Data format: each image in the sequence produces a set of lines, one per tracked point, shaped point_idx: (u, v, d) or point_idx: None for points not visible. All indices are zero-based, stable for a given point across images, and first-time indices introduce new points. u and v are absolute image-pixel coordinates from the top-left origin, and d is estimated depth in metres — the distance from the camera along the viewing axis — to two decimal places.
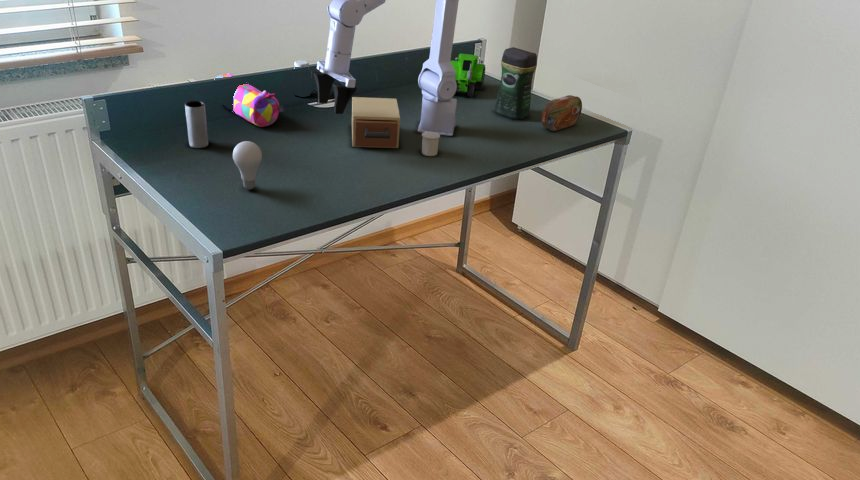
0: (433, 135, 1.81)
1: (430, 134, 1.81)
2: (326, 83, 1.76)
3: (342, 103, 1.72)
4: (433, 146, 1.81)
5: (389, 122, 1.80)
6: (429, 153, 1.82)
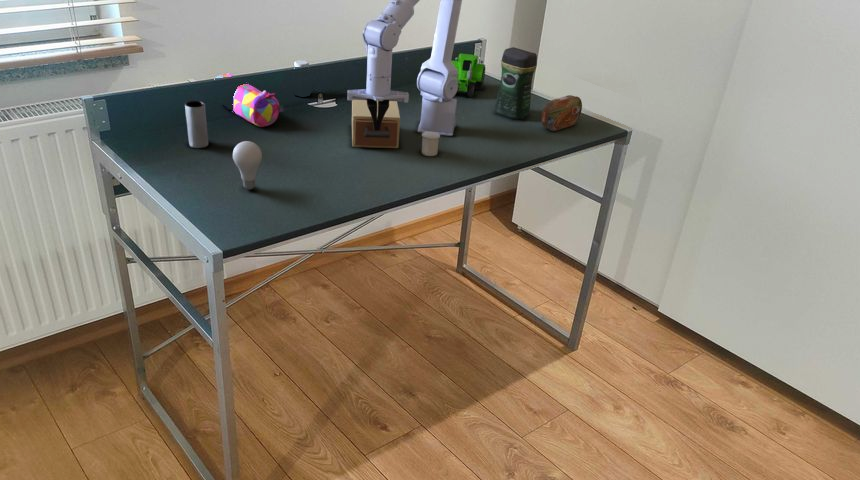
0: (433, 135, 1.81)
1: (430, 134, 1.81)
2: None
3: None
4: (433, 146, 1.81)
5: (389, 121, 1.80)
6: (429, 153, 1.82)
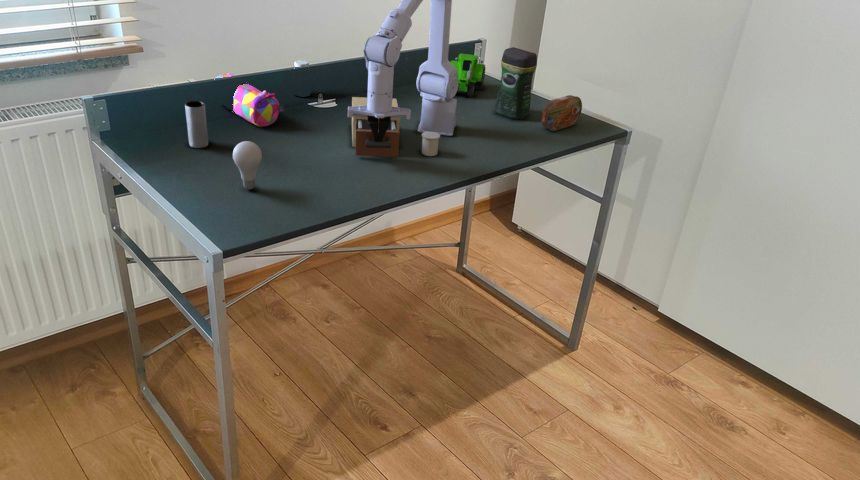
0: (433, 135, 1.81)
1: (430, 134, 1.81)
2: None
3: None
4: (433, 146, 1.81)
5: (390, 131, 1.75)
6: (429, 153, 1.82)
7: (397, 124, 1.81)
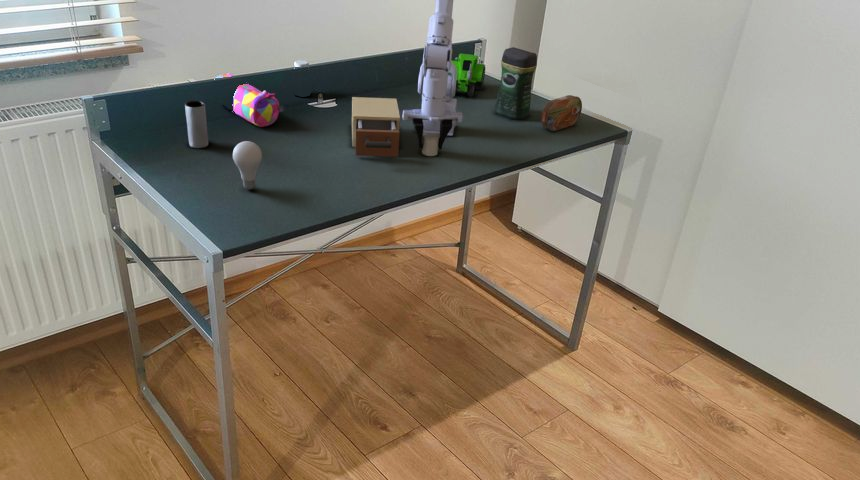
0: (433, 135, 1.81)
1: (430, 134, 1.81)
2: None
3: None
4: (434, 146, 1.81)
5: (390, 131, 1.75)
6: (429, 153, 1.82)
7: (397, 124, 1.81)
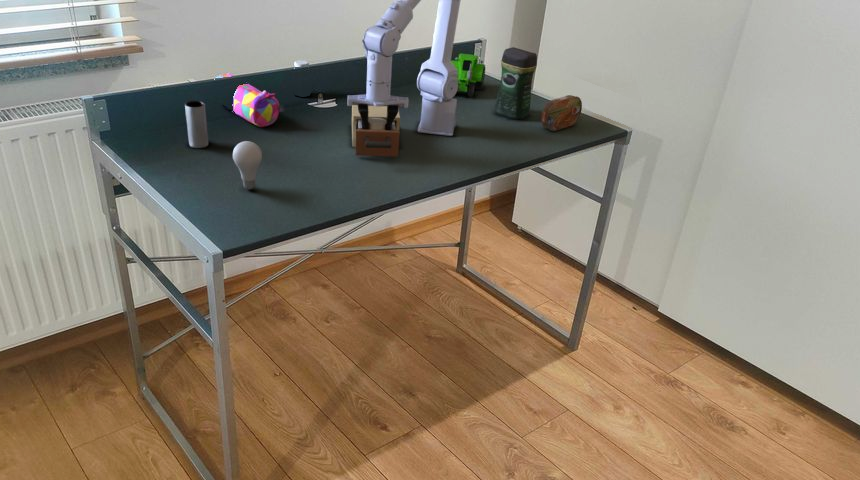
0: (379, 121, 1.77)
1: (377, 120, 1.78)
2: None
3: None
4: None
5: (390, 131, 1.75)
6: None
7: (397, 124, 1.81)
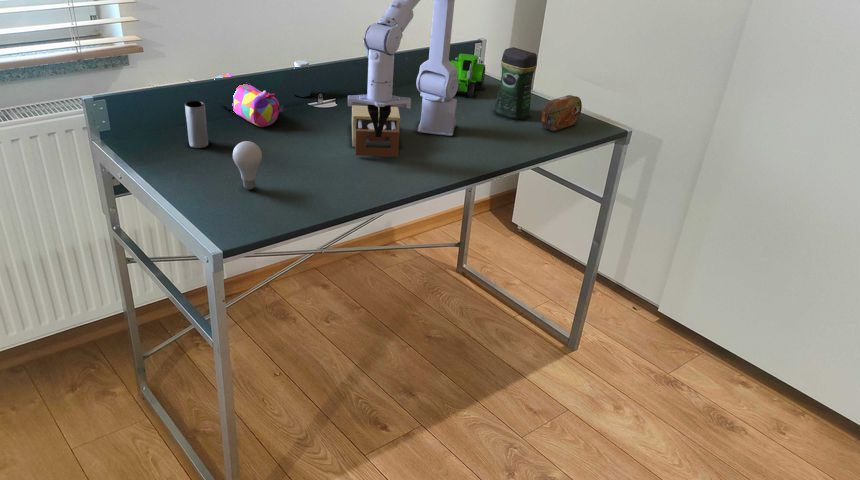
0: None
1: None
2: None
3: None
4: None
5: (390, 131, 1.75)
6: None
7: (397, 124, 1.81)
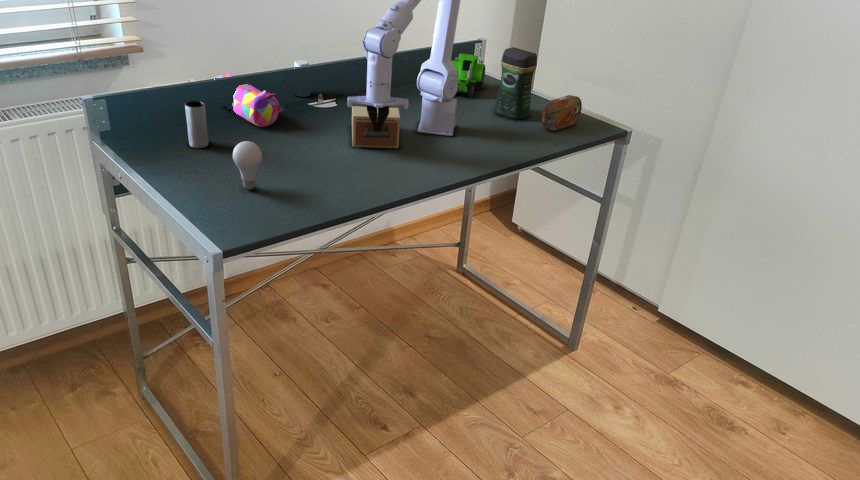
0: None
1: None
2: None
3: None
4: None
5: (389, 121, 1.80)
6: None
7: None
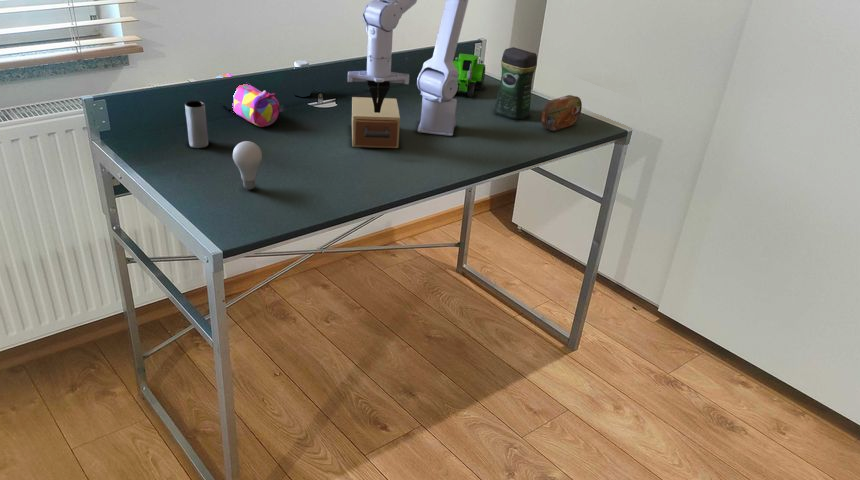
0: None
1: None
2: None
3: None
4: None
5: (389, 121, 1.80)
6: None
7: None
